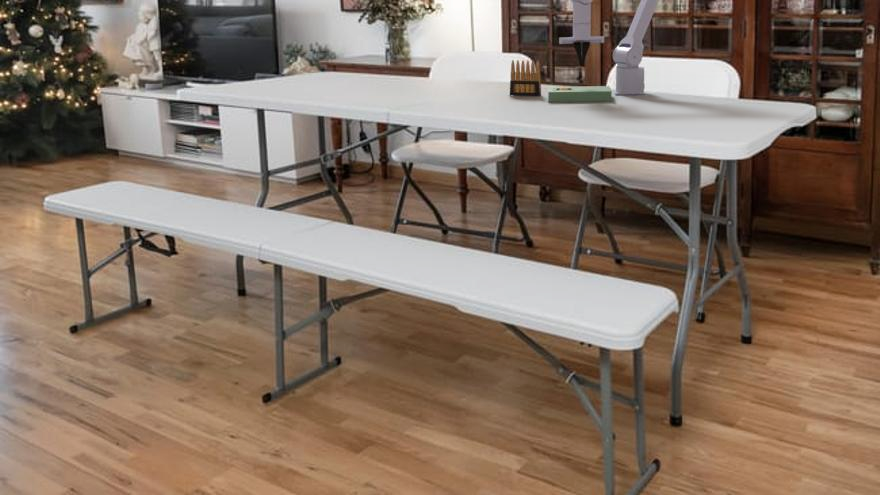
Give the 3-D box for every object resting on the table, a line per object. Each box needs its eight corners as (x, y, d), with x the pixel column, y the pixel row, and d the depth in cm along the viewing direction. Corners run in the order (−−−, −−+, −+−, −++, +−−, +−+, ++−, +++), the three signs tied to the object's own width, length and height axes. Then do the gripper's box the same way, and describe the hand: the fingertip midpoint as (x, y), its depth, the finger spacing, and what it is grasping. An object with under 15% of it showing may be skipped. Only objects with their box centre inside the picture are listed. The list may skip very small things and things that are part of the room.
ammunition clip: (541, 95, 337) (541, 59, 333) (539, 96, 335) (539, 60, 332) (511, 95, 341) (511, 59, 337) (509, 95, 339) (509, 60, 336)
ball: (558, 100, 327) (567, 100, 325) (555, 91, 325) (564, 91, 323) (562, 94, 329) (571, 93, 327) (559, 85, 327) (568, 85, 325)
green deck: (609, 96, 331) (609, 86, 330) (611, 101, 317) (611, 91, 316) (548, 96, 333) (548, 86, 332) (548, 102, 320) (548, 92, 319)
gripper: (603, 22, 327) (603, 63, 331) (559, 23, 328) (559, 64, 332) (604, 23, 320) (604, 66, 324) (559, 24, 322) (559, 67, 325)
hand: (581, 65), depth 327 cm, fingers closed
